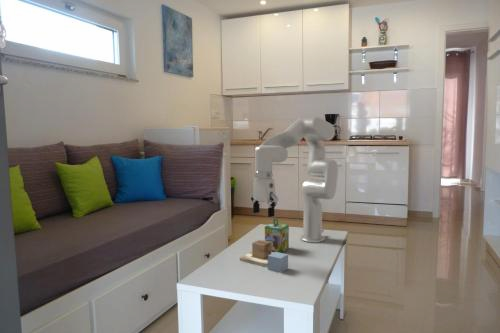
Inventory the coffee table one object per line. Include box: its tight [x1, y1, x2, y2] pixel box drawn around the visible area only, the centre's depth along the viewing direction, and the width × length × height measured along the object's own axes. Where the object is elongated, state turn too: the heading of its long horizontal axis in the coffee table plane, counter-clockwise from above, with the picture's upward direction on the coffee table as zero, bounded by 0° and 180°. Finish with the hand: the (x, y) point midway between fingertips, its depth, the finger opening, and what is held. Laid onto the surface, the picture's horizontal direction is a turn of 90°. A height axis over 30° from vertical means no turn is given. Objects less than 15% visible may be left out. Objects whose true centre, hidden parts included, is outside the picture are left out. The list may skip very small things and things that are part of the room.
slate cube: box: [267, 251, 289, 274], centre depth 151 cm, size 6×6×6 cm
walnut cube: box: [251, 239, 272, 259], centre depth 163 cm, size 6×6×6 cm
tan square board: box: [239, 251, 274, 268], centre depth 163 cm, size 14×14×2 cm
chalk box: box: [264, 217, 290, 253], centre depth 177 cm, size 9×9×15 cm
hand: (263, 214), depth 160 cm, fingers open, 9 cm apart
